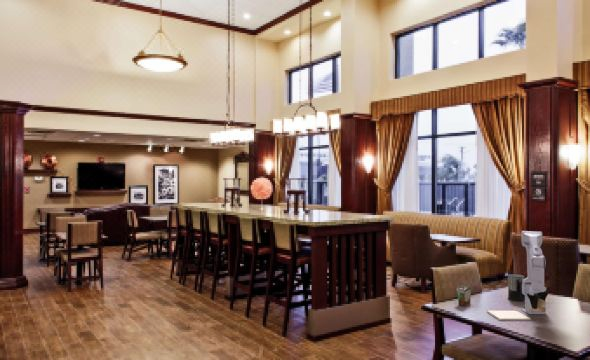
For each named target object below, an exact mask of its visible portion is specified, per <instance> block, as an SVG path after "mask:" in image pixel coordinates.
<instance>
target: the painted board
mask: <svg viewBox="0 0 590 360" xmlns="http://www.w3.org/2000/svg"><path fill="white" fill-rule="evenodd" d="M486 313H487V314H489V315H491V316H492V317H494V318H495V319H497V320H499V321H502V322H503V321H506V322H507V321H508V322H509V321H513V322H515V321H517V322H519V321H522V322H523V321H531V320H532V319H531V317H529V316H527V315H525V314H524V313H521V312H519V311H518V310H486Z"/></svg>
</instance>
